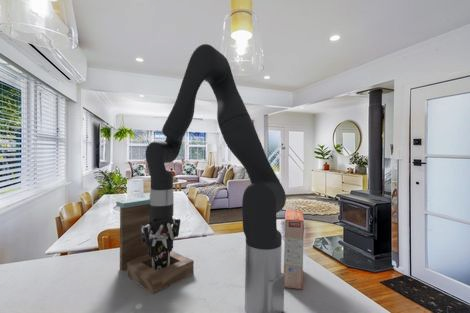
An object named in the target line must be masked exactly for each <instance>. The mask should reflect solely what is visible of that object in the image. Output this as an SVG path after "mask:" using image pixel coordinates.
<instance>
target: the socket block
mask: <svg viewBox="0 0 470 313" xmlns="http://www.w3.org/2000/svg"><path fill="white" fill-rule="evenodd" d="M194 266H195V265H194V260H193V259H192V258H189V257H186V256H184V255H182V254H180V253H178V252H175V251H173V250H172V251H170V266H167V267H165V268H162V269H160V270H158V271H156V270H154V269H152V257H150V255H148V256H145V257H142V258H139V259H136V260H133V261H131V262H128V263H127V270H126V272H127V275H126V276H127V278H129V279H131V280H132V281H133V282H135V283H136V284H137V285H140V286H141V287H143V288H144V289H146V290H147V291H149V292H150V293H152V294H156V293H157V292H160V291H162V290H163V289H165V288H168V287H170V286H173V285H175V284H176V283H178V282H180V281H182V280H184V279H186V278H188V277H190V276H193V275H194Z"/></svg>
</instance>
